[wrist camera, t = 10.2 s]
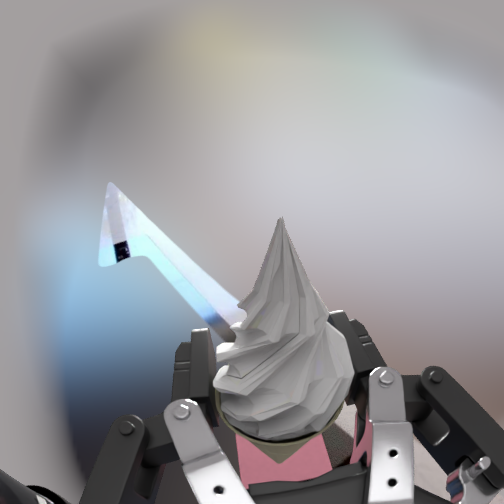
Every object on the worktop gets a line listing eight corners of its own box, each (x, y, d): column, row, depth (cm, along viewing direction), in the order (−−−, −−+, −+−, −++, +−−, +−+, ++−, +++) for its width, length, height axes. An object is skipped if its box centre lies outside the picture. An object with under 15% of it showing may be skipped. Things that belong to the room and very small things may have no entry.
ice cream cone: (277, 512, 11) (279, 311, 4) (220, 458, 15) (141, 222, 7) (339, 457, 14) (412, 214, 7) (280, 413, 17) (275, 179, 10)
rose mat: (242, 490, 19) (242, 489, 19) (234, 419, 26) (233, 418, 26) (332, 473, 20) (333, 472, 19) (312, 407, 27) (312, 405, 26)
